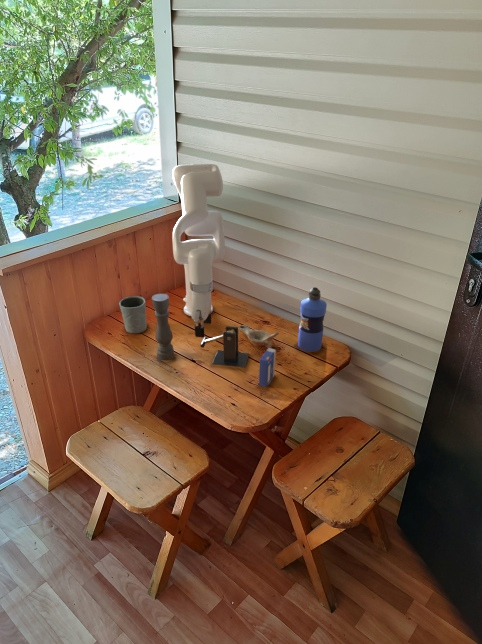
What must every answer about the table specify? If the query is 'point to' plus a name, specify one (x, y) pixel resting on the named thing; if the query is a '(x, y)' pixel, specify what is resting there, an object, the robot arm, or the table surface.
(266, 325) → the table surface
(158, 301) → the candle holder
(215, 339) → the switch lever
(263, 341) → the oil lamp
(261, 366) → the walkman
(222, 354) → the switch base
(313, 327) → the water bottle
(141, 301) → the grey green planter pot
